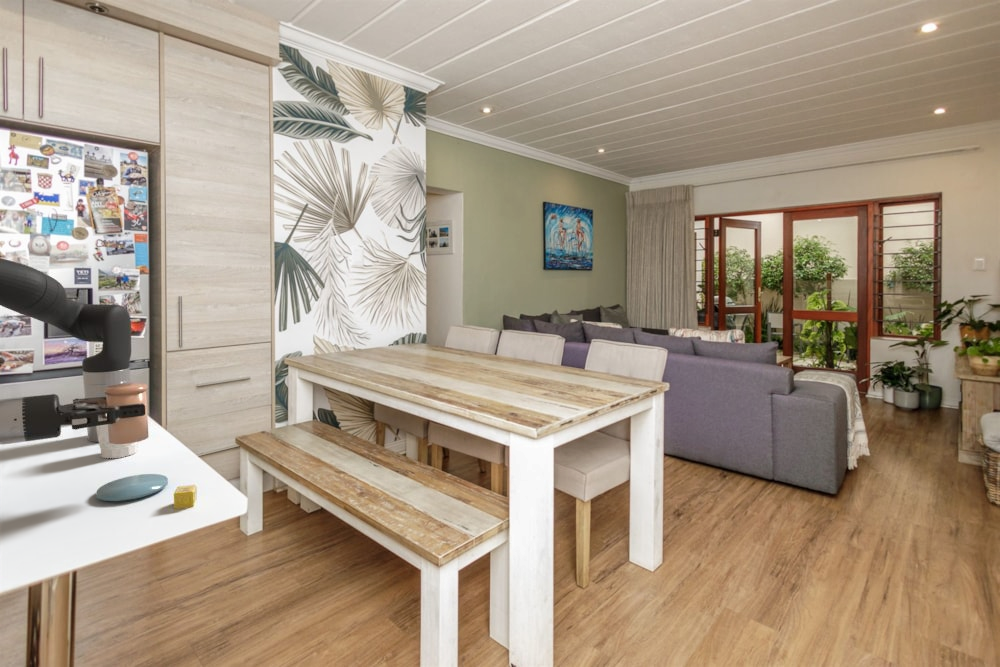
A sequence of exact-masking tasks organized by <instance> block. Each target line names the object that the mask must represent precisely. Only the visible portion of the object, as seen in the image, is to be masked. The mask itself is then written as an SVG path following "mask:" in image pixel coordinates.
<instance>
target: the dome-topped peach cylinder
mask: <svg viewBox="0 0 1000 667" xmlns="http://www.w3.org/2000/svg"><path fill="white" fill-rule="evenodd" d="M147 390H148V384H147V383H142V382H141V383H140V382H131V383H127V384H118V385H112V386H108V387H106V388H104V391H105V394H106V400H107V406H119V408H120V406H123V405H132V404H141V403H143V404H144V405H145V415H144V416H137V417H130V418H122V419H121V418H120V420H118V421H116V423H113V424H108V433H109V443H111V444H128V443H134V442H138V443H139V442H142V441H145V440H146V439H149V437H150V436H149V420H148V419H149V418H148V402H147V399H148V398H147Z"/></svg>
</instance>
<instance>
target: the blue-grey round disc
mask: <svg viewBox="0 0 1000 667" xmlns="http://www.w3.org/2000/svg"><path fill="white" fill-rule="evenodd" d="M168 479H169V478H168V477H167V476H166V475H164V474H159V473H145V474H142V473H141V474H135V475H129V476H125V477H121V478H117V479H114V480H112V481H109V482H107V483H105V484H103V485H102V486H100V487H99V488H98V489H97V490H96V492H95V493H96V497H97V499H98V500H101V501H105V502H106V501H107V502H121V501H129V500H130V501H131V500H135V499H139V498H143V497H147V496H150V495H153V494H155V493H158V492H159V491H161V490H163V489H165V487H166V486H168V483H169V480H168Z"/></svg>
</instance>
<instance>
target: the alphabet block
mask: <svg viewBox="0 0 1000 667" xmlns="http://www.w3.org/2000/svg"><path fill="white" fill-rule="evenodd" d="M197 488H198V487H197V484H190V485H181V486H180V485H179V486H177V487H176V488H175V489H176V490H175V491H174V494H173V508H174V509H175V510H178V508H179V509H185V507H187V508H193V507H194V506H195V504H196V502H197V499H198V498H197V497H198V496H197V495H198V494H197V491H198V490H197ZM183 507H184V508H183Z"/></svg>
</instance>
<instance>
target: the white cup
mask: <svg viewBox="0 0 1000 667" xmlns="http://www.w3.org/2000/svg"><path fill="white" fill-rule="evenodd" d="M106 417H107V413H106ZM96 428H97V435H98V441H99V442H98V445H99V448H100V455H101V458H103V459H106V458H107V459H108V458H110V459H109V460H112V459H113V458H114V459H120V458H121V457H122V458H126V457H130V456H132V455H135V454H136V453H137V452H138V451H139V442H134V443H128V444H111V443H109V433H108V424H106V425H100V426H96ZM129 455H130V456H129ZM125 456H126V457H125ZM111 458H112V459H111Z"/></svg>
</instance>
